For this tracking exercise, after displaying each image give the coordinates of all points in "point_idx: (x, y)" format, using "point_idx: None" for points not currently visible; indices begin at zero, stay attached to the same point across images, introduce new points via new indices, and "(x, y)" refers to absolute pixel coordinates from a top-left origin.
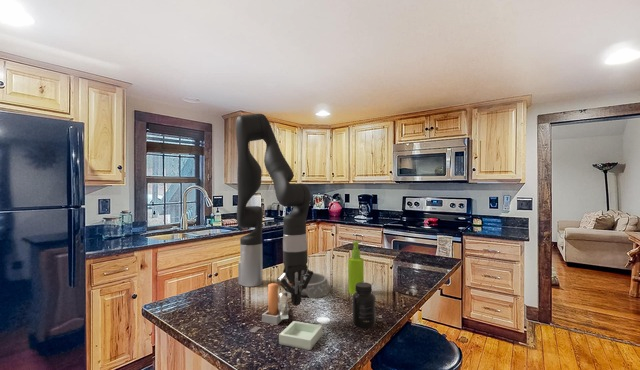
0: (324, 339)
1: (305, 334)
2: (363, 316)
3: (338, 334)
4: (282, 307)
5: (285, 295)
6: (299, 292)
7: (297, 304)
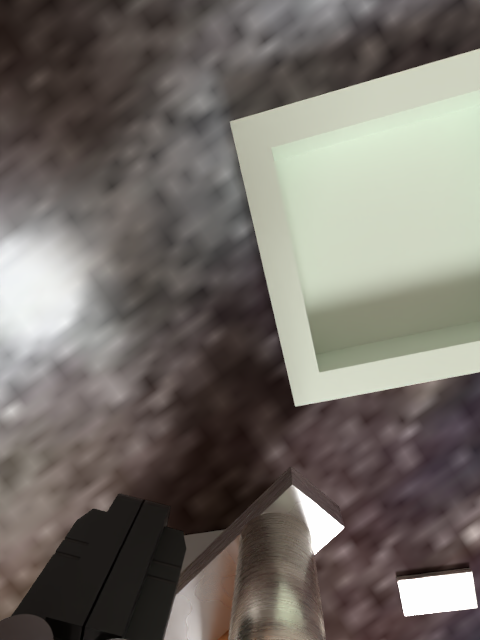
0: (296, 80)
1: (335, 241)
2: None
3: (162, 29)
4: (317, 592)
5: None
6: (37, 633)
7: (156, 507)
